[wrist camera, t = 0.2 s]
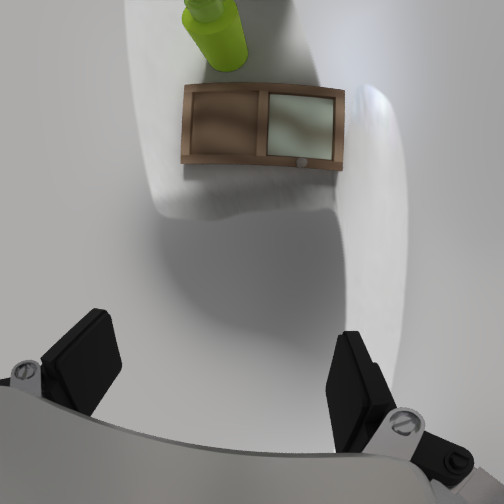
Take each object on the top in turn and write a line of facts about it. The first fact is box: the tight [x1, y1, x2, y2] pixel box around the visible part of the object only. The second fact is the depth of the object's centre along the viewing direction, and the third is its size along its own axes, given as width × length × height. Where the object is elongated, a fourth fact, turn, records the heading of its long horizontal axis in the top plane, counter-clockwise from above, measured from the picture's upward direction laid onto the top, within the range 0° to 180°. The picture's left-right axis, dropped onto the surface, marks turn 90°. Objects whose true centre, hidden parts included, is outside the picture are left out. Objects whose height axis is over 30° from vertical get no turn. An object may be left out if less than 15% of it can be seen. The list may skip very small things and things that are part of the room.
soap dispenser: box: [182, 0, 248, 72], centre depth 24 cm, size 6×7×20 cm
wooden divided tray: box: [181, 82, 345, 171], centre depth 34 cm, size 11×22×5 cm, turn 88°
